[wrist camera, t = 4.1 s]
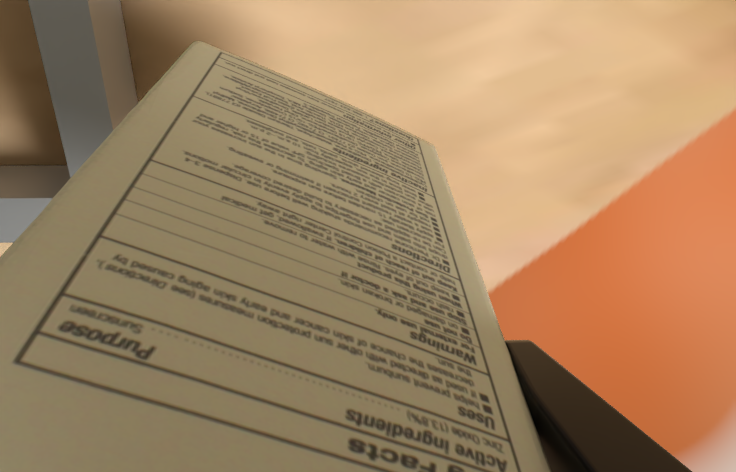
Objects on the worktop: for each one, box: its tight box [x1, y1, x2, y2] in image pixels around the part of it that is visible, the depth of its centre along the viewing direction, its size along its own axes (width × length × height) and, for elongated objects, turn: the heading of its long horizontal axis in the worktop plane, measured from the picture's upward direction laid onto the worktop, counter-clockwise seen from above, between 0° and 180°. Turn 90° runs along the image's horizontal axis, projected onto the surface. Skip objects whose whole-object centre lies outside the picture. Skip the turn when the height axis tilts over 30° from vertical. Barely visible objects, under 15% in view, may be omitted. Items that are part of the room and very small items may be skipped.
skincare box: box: [0, 41, 551, 472], centre depth 10 cm, size 6×4×12 cm
